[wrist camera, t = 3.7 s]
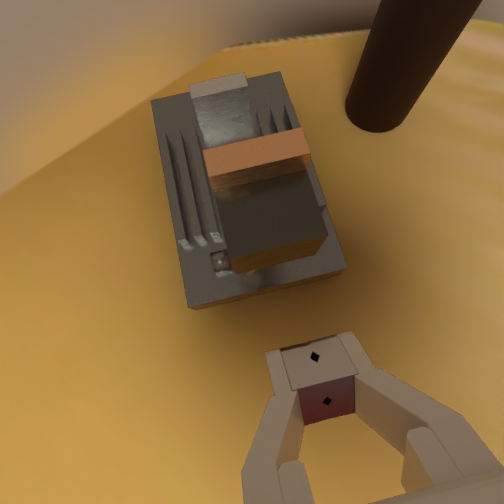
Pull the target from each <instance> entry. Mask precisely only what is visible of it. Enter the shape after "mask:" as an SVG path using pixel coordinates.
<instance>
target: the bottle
mask: <svg viewBox="0 0 504 504" xmlns="http://www.w3.org/2000/svg"><path fill="white" fill-rule="evenodd" d="M481 2H482V0H381V3H380V5H379V8H378V11H377V14H376V17H375V19H374V22H373V25H372V28H371V31H370V34H369V36H368V39H367V42H366V45H365V48H364V51H363V53H362V56H361V59H360V62H359V65H358V68H357V70H356V73H355V76H354V79H353V82H352V85H351V87H350V90H349V93H348V96H347V99H346V112H347V114H348V116H349V118H350V119H351V120H352V121H353V123H354V124H355V125H357V126H359V127H360V128H362V129H364V130H367V131H371V132H385V131H389V130H392V129H394V128H395V127H397V126H398V125H400V124H401V123H402V121H403V120H404V119H405V118H406V116H407V115H408V113H409V112H410V110H411V109H412V107H413V105H414V104H415V102H416V101H417V99H418V98H419V96H420V95H421V93H422V92H423V90H424V89H425V87H426V86H427V84H428V83H429V81H430V80H431V78H432V77H433V75H434V73H435V72H436V70H437V69H438V67H439V66H440V64H441V63H442V61H443V60H444V58H445V57H446V55H447V54H448V52H449V51H450V49H451V48H452V46H453V44H454V43H455V41H456V40H457V38H458V37H459V35H460V34H461V32H462V31H463V29H464V28H465V26H466V25H467V23H468V22H469V20H470V19H471V17H472V15H473V14H474V12H475V11H476V9H477V8H478V6H479V5H480V3H481Z"/></svg>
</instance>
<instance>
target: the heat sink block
mask: <svg viewBox="0 0 504 504" xmlns="http://www.w3.org/2000/svg"><path fill="white" fill-rule="evenodd" d="M189 90H190V92H186V93H182V94H178V95H173V96H169V97H164V98H160V99H155V100H151V105H152V111H153V116H154V122H155V127H156V133H157V138H158V144H159V149H160V155H161V160H162V166H163V171H164V177H165V182H166V188H167V193H168V199H169V204H170V210H171V215H172V221H173V227H174V232H175V238H176V243H177V249H178V254H179V260H180V265H181V271H182V276H183V282H184V287H185V293H186V298H187V304H188V308H191V309H194V310H200V309H204V308H208V307H212V306H216V305H220V304H224V303H228V302H232V301H236V300H240V299H244V298H248V297H252V296H256V295H260V294H264V293H268V292H272V291H276V290H280V289H284V288H288V287H292V286H296V285H300V284H304V283H308V282H312V281H316V280H320V279H324V278H328V277H332V276H336V275H339V274H341V273H342V272H343V271H344V270H346V269H347V268H348V267H347V264H346V261H345V258H344V255H343V252H342V249H341V246H340V243H339V241H338V238H337V235H336V232H335V229H334V226H333V223H332V220H331V217H330V214H329V211H328V209H327V206H326V205H327V204H326V201H325V198H324V195H323V192H322V189H321V186H320V183H319V180H318V178H317V175H316V172H315V169H314V166H313V163H312V160H311V157H310V158H309V162H308V166H307V172H308V175H309V178H310V181H311V184H312V187H313V190H314V193H315V196H316V199H317V202H318V205H319V207H320V210H321V213H322V216H323V219H324V222H325V225H326V228H327V231H328V234H329V235H328V237H327V238H326V240H325V241H324V243H323V244H322V246H321V247H320V249H319V250H318V252H317V253H316V255H313V256H309V257H305V258H301V259H297V260H293V261H289V262H285V263H280V264H276V265H272V266H268V267H264V268H260V269H256V270H252V271H248V272H244V273H240V274H236V273H235V271H234V269H233V266H232V264H231V262H230V260H229V256H228V252H227V247H226V243H225V238H224V234H223V230H222V225H221V221H220V217H219V212H218V208H217V204H216V199H215V195H214V191H213V188H212V185H211V182H210V179H209V176H208V172H207V167H206V163H205V159H204V154H203V150H206V149H210V148H215V147H219V146H223V145H228V144H232V143H236V142H240V141H245V140H249V139H253V138H258V137H262V136H266V135H270V134H275V133H279V132H283V131H288V130H292V129H296V128H300V125H299V122H298V120H297V117H296V114H295V111H294V108H293V105H292V103H291V101H290V98H289V95H288V92H287V90H286V87H285V84H284V81H283V78H282V75H281V72H280V71H279V72H275V73H270V74H266V75H261V76H257V77H253V78H248V79H246V78H245V74H244V72H243V73H238V74H234V75H229V76H225V77H220V78H216V79H212V80H207V81H203V82H198V83H194V84H189Z"/></svg>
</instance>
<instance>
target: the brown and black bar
mask: <svg viewBox="0 0 504 504" xmlns="http://www.w3.org/2000/svg"><path fill="white" fill-rule="evenodd" d="M203 154H204V159H205V163H206V167H207V172H208V176H209V179H210V182H211V185H212V188H213V191H214V195H215V199H216V204H217V208H218V212H219V217H220V221H221V225H222V230H223V234H224V238H225V243H226V247H227V252H228V256H229V260H230V262H231V264H232V266H233V269H234V271H235V273H236V274H240V273H244V272H248V271H252V270H256V269H260V268H264V267H268V266H272V265H276V264H280V263H285V262H289V261H293V260H297V259H301V258H305V257H309V256H313V255H316V253H317V252H318V250H319V249H320V247H321V246H322V244H323V243H324V241H325V240H326V238H327V237H328V235H329V234H328V231H327V228H326V225H325V222H324V219H323V216H322V213H321V210H320V207H319V205H318V202H317V199H316V196H315V193H314V190H313V187H312V184H311V181H310V178H309V175H308V172H307V166H308V162H309V158H310V154H311V152H310V149H309V146H308V143H307V140H306V137H305V134H304V132H303V129H302V127H300V128H296V129H292V130H288V131H283V132H279V133H275V134H270V135H266V136H262V137H258V138H253V139H249V140H245V141H240V142H236V143H232V144H228V145H223V146H219V147H215V148H210V149H206V150H203Z"/></svg>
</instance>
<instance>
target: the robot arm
mask: <svg viewBox="0 0 504 504" xmlns="http://www.w3.org/2000/svg"><path fill="white" fill-rule="evenodd" d="M265 357H266V361H267V365H268V370H269V374H270V378H271V383H272V387H273V391H274V396H272V397H270V398H269V401H268V404H267V406H266V409H265V411H264V414H263V417H262V419H261V422H260V425H259V427H258V430H257V432H256V435H255V438H254V440H253V443H252V445H251V448H250V451H249V453H248V456H247V458H246V461H245V464H244V466H243V469H242V471H241V477H242V488H243V499H244V504H315V503H314V500H313V496H312V492H311V489H310V485H309V482H308V478H307V474H306V471H305V467H304V464H303V463H302V462H300V461H298V455H299V451H300V446H301V441H302V437H303V432H304V426H306V425H309V424H313V423H316V422H319V421H323V420H326V419H330V418H334V417H339V416H343V415H347V414H352V413H356V415H357V416H358V417H359V418H361V419H362V420H363V421H364V422H365V423H367V424H368V425H369V426H370V427H371V428H372V429H374V430H375V431H376V432H377V433H378V434H379V435H381V436H382V437H383V438H384V439H385V440H386V441H388V442H389V443H390V444H391V445H392V446H393V447H395V448H396V449H397V450H398V451H399V452H400V453H402V454H403V455H404V462H403V470H402V478H401V482H402V485H403V487H404V489H405V491H406V494H402V495H398V496H395V497H391V498H387V499H383V500H380V501H376V502H372V503H369V504H504V467H503V466H502V465H501V463H500V462H499V461H498V460H497V458H496V457H495V456H494V455H493V453H492V452H491V451H490V450H489V448H488V447H487V446H486V445H485V443H484V442H483V441H482V440H481V438H480V437H479V436H478V435H477V433H476V432H475V431H474V430H473V428H472V427H471V426H470V425H469V423H468V422H467V421H466V420H465V418H464V417H463V416H462V415H461V414H459V413H457V412H455V411H454V410H452V409H450V408H448V407H447V406H445V405H443V404H442V403H440V402H438V401H436V400H435V399H433V398H431V397H429V396H428V395H426V394H424V393H422V392H421V391H419V390H417V389H415V388H414V387H412V386H410V385H408V384H407V383H405V382H403V381H401V380H400V379H398V378H396V377H394V376H393V375H391V374H389V373H387V372H386V371H384V370H382V369H377V370H376V368H375V367H374V365H373V364H372V362H371V361H370V359H369V357H368V356H367V354H366V353H365V351H364V349H363V348H362V346H361V345H360V343H359V341H358V340H357V338H356V337H355V335H354V333H353V332H351V331H348V332H344V333H340V334H336V335H332V336H328V337H324V338H320V339H316V340H313V341H309V342H307V343H302V344H298V345H293V346H289V347H284V348H280V349H276V350H272V351H268V352H265Z"/></svg>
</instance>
